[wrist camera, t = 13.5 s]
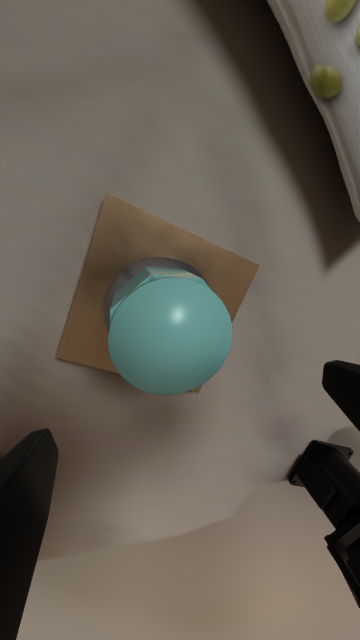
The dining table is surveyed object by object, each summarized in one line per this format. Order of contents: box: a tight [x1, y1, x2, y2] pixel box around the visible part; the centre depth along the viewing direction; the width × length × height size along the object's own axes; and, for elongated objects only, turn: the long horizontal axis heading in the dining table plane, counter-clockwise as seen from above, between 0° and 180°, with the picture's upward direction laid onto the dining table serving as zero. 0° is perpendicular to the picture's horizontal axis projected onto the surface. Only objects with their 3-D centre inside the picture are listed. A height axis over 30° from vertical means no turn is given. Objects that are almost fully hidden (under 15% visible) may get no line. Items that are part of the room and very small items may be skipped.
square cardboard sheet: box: [56, 193, 259, 393], centre depth 16 cm, size 12×12×5 cm
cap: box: [108, 266, 232, 395], centre depth 14 cm, size 6×6×5 cm
